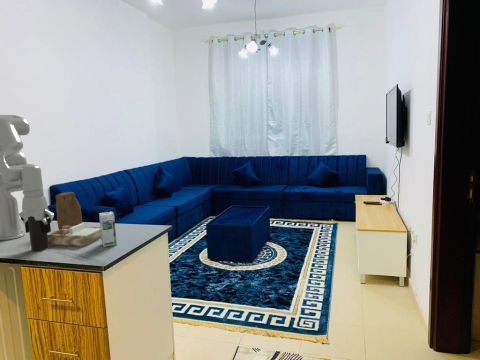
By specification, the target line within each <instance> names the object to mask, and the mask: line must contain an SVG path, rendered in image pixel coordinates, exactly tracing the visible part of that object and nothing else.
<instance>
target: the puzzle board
mask: <svg viewBox="0 0 480 360" xmlns="http://www.w3.org/2000/svg"><path fill="white" fill-rule="evenodd" d="M71 227H74V226H62V229H60V230H59V229H58V230H56V231H55V230H54V231H53V232H49V233H47V236H48V245H49V246H65V247H66V246H68V247H86V246H87V245H90V244H92V243H93V242H95V241H98V240H100V239H101V231H99V232H97V233H95V234H93V235H90V236H88V237H84V236H77V235H66V234H68V233H69V228H71ZM85 228H100V226H85Z"/></svg>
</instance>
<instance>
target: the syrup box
mask: <svg viewBox="0 0 480 360" xmlns="http://www.w3.org/2000/svg"><path fill="white" fill-rule="evenodd" d="M98 217H99V227H100V229H101V238H100V239H101V244H102V246H103V247H104V248H105V247H110V246H116V245H117V243H118V242H117V233H116V232H117V231H116V222H115V213H114V212H113V211H109V212H108V211H107V212H100V213H98Z"/></svg>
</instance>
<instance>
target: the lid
mask: <svg viewBox="0 0 480 360" xmlns="http://www.w3.org/2000/svg"><path fill="white" fill-rule="evenodd" d="M85 227H86V225H85V222H84V223H83V222H82V223H81V224H79V225H76V226H74V227H71V228H69V233H68V234H66V235H77V236H84V237H88V236H90V235H93V234H95V233H97V232H99V231H101V229H100V228H85Z"/></svg>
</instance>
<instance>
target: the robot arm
mask: <svg viewBox="0 0 480 360" xmlns="http://www.w3.org/2000/svg"><path fill="white" fill-rule="evenodd" d="M30 129H31V128H30V123H29V122H28V120H27V119H26V118H24V117H22V116H19V115H16V114H0V241H9V240H13V239H14V240H15V239H18V238H21V237H23V236H25V235H26V234H27V233H28V234H29V225H28V217H30V216H32V217H34V218H35V220H36V221H40V220H42V221H43V222H44V233H47V234H50V233H52V228H51V223H52V221H53V220H54V216H55V213H54V212H52V211H51V210H49V206H48V202H47V198H46V196H45V194H44V185H43V176H42V169H41V166H40V165H35V164H33V163H28V161H27V157H26V155H25V154H24V153H23V152H22V151H21V150H22V149H23V148H24V144H23V141H22V138H21V136H27V135H29V134H30V131H31V130H30ZM21 191H22V194H23V196H24V197H22V201H21V202H22V203H21V212H20V213H19V203H18V200H17V198H16V197H15V196H14V195H12V193H15V192H16V193H17V192H21ZM45 219H46V220H45ZM21 221H22V223H23V225H24V229H25V231H23V230H22V229H21V227H22V226H21Z"/></svg>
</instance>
